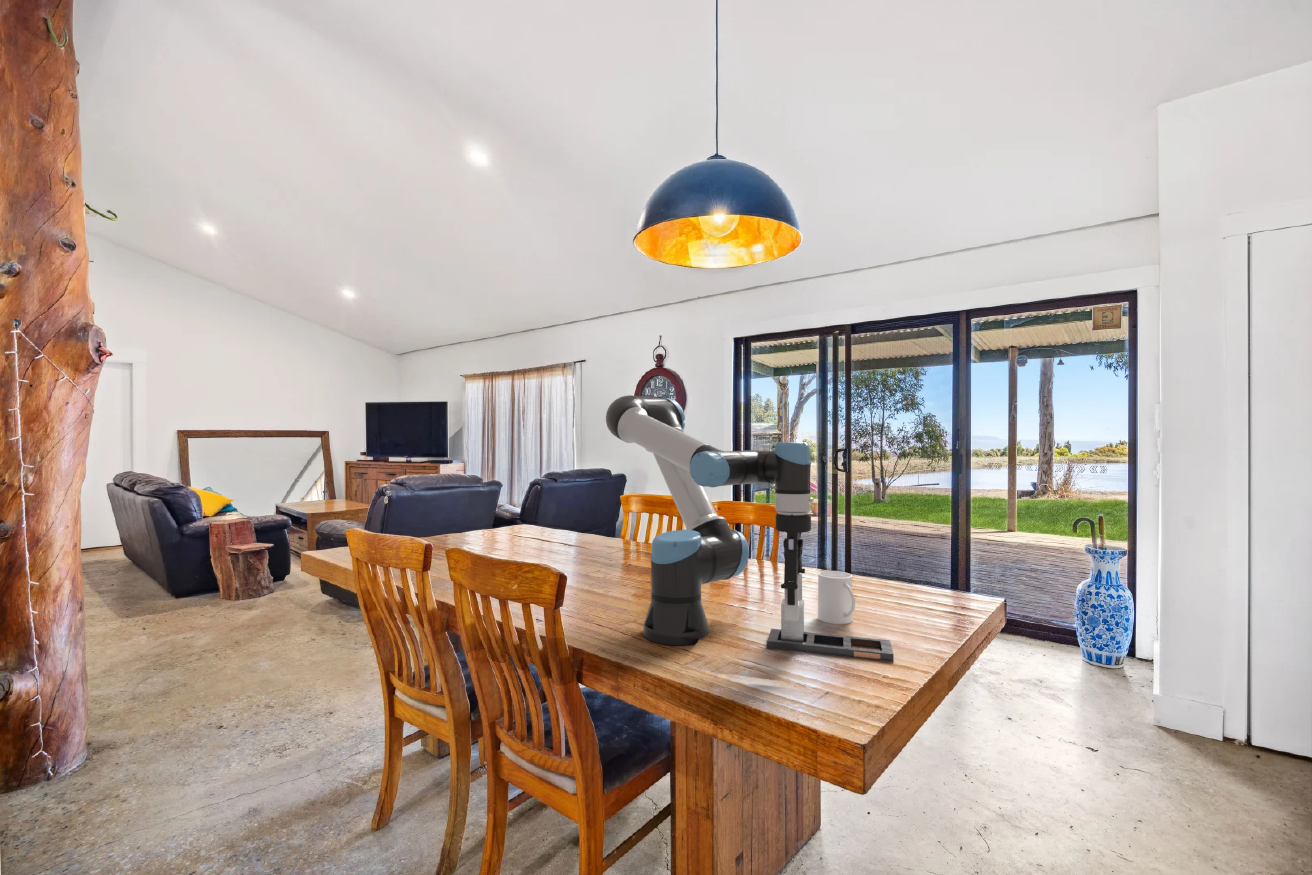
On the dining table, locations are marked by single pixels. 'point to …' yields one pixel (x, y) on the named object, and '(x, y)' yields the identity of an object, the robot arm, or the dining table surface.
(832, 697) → the dining table surface
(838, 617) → the mug
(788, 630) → the grey block with knob
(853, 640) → the tray with compartments
